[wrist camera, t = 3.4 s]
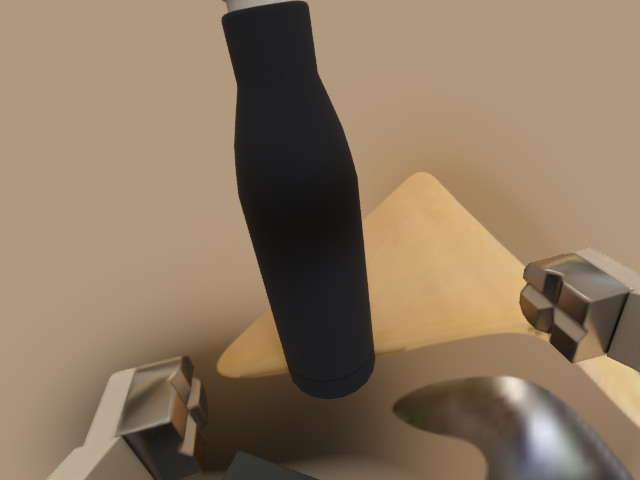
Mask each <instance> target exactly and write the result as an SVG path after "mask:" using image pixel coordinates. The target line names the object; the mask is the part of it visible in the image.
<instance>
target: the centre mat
mask: <svg viewBox="0 0 640 480" xmlns="http://www.w3.org/2000/svg"><path fill="white" fill-rule="evenodd" d="M223 480H318V479H316V478H313V477H310V476H307V475H305V474H302V473H299V472H296V471H294V470H291V469H288V468H286V467H283V466H280V465H278V464H275V463H272V462H269V461H267V460H264V459H261V458H258V457H256V456H253V455H250V454H248V453H245V452H242V451H238V452H237V454H236V456H235V458H234V459H233V461H232V463H231V465H230V467H229V469H228V470H227V472H226V474H225V476H224V478H223Z"/></svg>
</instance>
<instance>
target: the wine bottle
mask: <svg viewBox="0 0 640 480" xmlns="http://www.w3.org/2000/svg"><path fill="white" fill-rule="evenodd" d="M222 1H224V2H226V4H227V8H228V13H227V14H225V15H224V16H223V17H222V26H223V30H224V34H225V38H226V42H227V46H228V50H229V54H230V58H231V62H232V66H233V70H234V74H235V78H236V82H237V104H236V121H235V141H234V150H235V166H236V177H237V185H238V195H239V199H240V202H241V206H242V209H243V213H244V216H245V220H246V223H247V227H248V230H249V233H250V237H251V240H252V243H253V247H254V251H255V254H256V257H257V261H258V265H259V268H260V272H261V275H262V278H263V282H264V285H265V289H266V292H267V296H268V299H269V303H270V306H271V310H272V313H273V316H274V320H275V323H276V327H277V330H278V334H279V337H280V341H281V344H282V348H283V351H284V354H285V358H286V361H287V365H288V368H289V372H290V374H291V377H292V379H293V382H294V383H295V384H296V385H297V386H298V387H299V388H300V389H301V390H302V391H303V392H305V393H307V394H309V395H311V396H313V397H318V398H324V399H333V398H340V397H344V396H346V395H349V394H351V393H353V392H355V391H357V390H358V389H359V388H360V387H361V386H362V385H364V384H365V383H366V382H367V381H368V379H369V377H370V375H371V374H372V372H373V367H374V362H375V354H374V344H373V333H372V323H371V313H370V302H369V292H368V282H367V271H366V261H365V251H364V240H363V230H362V220H361V209H360V200H359V189H358V178H357V174H356V170H355V166H354V163H353V159H352V155H351V152H350V149H349V146H348V143H347V140H346V137H345V133H344V130H343V128H342V125H341V123H340V121H339V118H338V116H337V114H336V112H335V110H334V107H333V105H332V103H331V101H330V98H329V96H328V94H327V92H326V90H325V88H324V85H323V84H322V81H321V79H320V77H319V75H318V71H317V64H316V57H315V50H314V42H313V36H312V27H311V20H310V13H309V7H308V4H307V3H306V2H304V1H300V0H222Z"/></svg>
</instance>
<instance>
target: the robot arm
mask: <svg viewBox="0 0 640 480" xmlns="http://www.w3.org/2000/svg"><path fill="white" fill-rule="evenodd" d="M523 279H524V280H525V281H526V282H527V284H526V286H525V287H524V288H523V290H522V291H521V292H520V302H519V303H520V306H521V310H522V313H523V315H524V316H525V318H526V319H527V321H528V322H529V323H530V324H531V325H532V326H533V327H534V328H535V329H537V330H540V331H542V332H545V333H548V336H549V342H550V343H551V344H552V345H553V346H554V347H555V348H556V349H557V350H558V351H559V352H561V354H563V355H564V356H565V357H566V358H567V359H568V360H569V361H570V362H571V363H576V362H580V361H583V360H587V359H591V358H595V357H598V356H602V355H606V354H607V357H610V358H612V359H614V360H616V361H618V362H620V363H622V364H624V365H626V366H629V367H631V368H633V369H635V370H637V371H639V372H640V274H639V273H637V272H635V271H633V270H632V269H630V268H628V267H626V266H625V265H623V264H621V263H619V262H618V261H616V260H614V259H612V258H611V257H609V256H607V255H605V254H604V253H602V252H600V251H598V250H596V249H593V248H588V247H586V248H583V249H579V250H575V251H572V252H568V253H567V254H562V255H558V256H555V257H551V258H547V259H544V260H540V261H536V262H533V263H529V264H528V265H527V266H526V268H525V269H524V274H523ZM193 371H194V365H193V364H192V362H191V360H190V358H189V356H185V355H184V356H179V357H175V358H171V359H168V360H163V361H159V362H155V363H151V364H146V365H142V366H139V367H136V368H132V369H128V370H123V371H119V372H116V373H114V374H113V375H112V376H111V377H110V379H109V381H108V383H107V386H106V388H105V391H104V394H103V396H102V399H101V401H100V404H99V406H98V409H97V412H96V414H95V417H94V419H93V422H92V424H91V427H90V430H89V432H88V435H87V437H86V440H85V443H84V445H83V446H82V447H79V448H76V449H74V450H73V452H71V453H70V455H69V456H68V457H67V458H66V459H65V460H64V461H63V462H62V463H61V464H60V465H59V466H58V467H57V468H56V469H55V471H53V473H52V474H51V475H50V476H49V477H48V478H47V479H46V480H186V479H189V478H192V477H194V476H198V475H201V474H203V473H204V461H205V450H206V441H205V439H204V437H203V435H202V433H201V431H202V430H203V428H204V427H205V425H206V424H207V422H208V403H207V395H206V392H205V388H204V386H203V384H202V381H201V380H200V379H198V378H196V377H194V376H193Z"/></svg>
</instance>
